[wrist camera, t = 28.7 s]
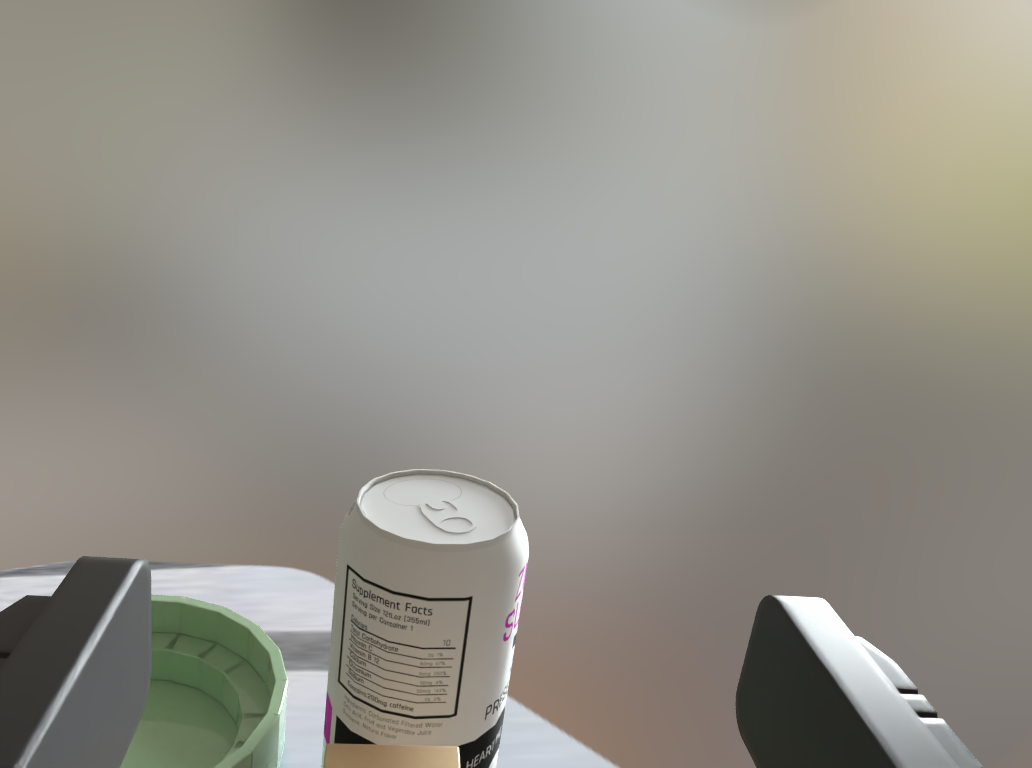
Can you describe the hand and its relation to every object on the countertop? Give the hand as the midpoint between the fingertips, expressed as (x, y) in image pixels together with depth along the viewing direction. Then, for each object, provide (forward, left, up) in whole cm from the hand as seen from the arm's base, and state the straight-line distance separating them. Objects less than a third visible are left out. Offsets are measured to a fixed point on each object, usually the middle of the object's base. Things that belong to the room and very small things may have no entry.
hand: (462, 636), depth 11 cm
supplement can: (-8, -22, -25) cm, 35 cm away
